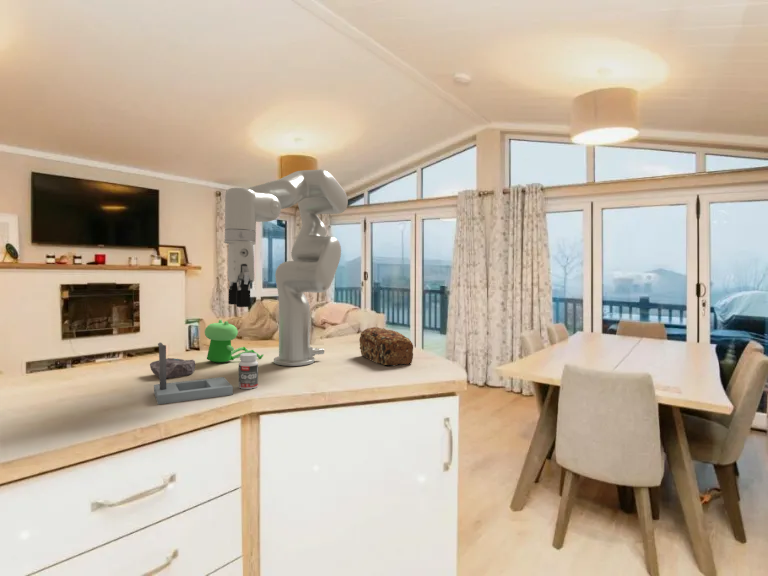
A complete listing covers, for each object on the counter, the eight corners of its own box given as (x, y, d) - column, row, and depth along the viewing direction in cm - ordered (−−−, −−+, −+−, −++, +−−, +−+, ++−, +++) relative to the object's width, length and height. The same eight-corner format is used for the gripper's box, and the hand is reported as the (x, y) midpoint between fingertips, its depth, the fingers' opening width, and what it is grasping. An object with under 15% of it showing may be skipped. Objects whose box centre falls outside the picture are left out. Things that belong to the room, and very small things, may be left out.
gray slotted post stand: (223, 384, 120) (222, 337, 119) (232, 394, 111) (232, 344, 110) (153, 392, 112) (153, 342, 111) (158, 404, 103) (157, 350, 102)
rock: (201, 374, 130) (200, 358, 130) (157, 381, 122) (156, 364, 122) (190, 369, 136) (190, 354, 136) (148, 376, 128) (147, 359, 128)
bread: (358, 356, 158) (358, 327, 157) (386, 353, 163) (386, 325, 162) (384, 368, 141) (385, 335, 141) (414, 364, 146) (415, 333, 146)
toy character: (265, 362, 151) (267, 322, 151) (209, 365, 139) (212, 322, 139) (251, 357, 158) (254, 319, 158) (197, 360, 146) (200, 318, 146)
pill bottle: (239, 390, 115) (239, 356, 114) (237, 385, 119) (237, 353, 118) (259, 388, 117) (259, 355, 116) (256, 383, 121) (256, 351, 120)
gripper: (263, 236, 113) (262, 307, 113) (247, 240, 128) (246, 303, 128) (231, 234, 109) (230, 308, 109) (218, 239, 124) (217, 303, 124)
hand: (238, 305), depth 119 cm, fingers open, 9 cm apart
